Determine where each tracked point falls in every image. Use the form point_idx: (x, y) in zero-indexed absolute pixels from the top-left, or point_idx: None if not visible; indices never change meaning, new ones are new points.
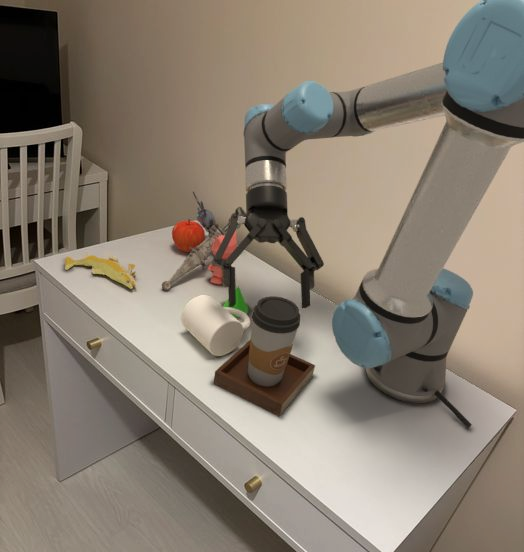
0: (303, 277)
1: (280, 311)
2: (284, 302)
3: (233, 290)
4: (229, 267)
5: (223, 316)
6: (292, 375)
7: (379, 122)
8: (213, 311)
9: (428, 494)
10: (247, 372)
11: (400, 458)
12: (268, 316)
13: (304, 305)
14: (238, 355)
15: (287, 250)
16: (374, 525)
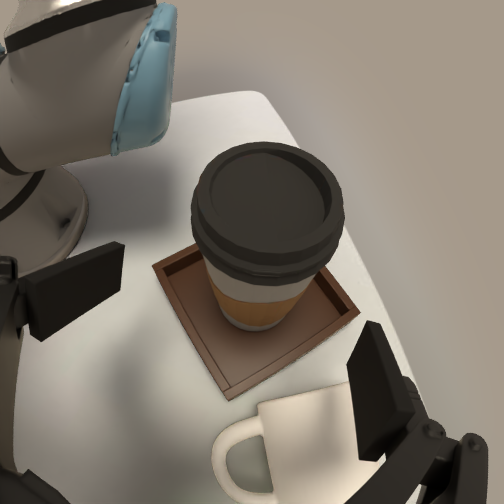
0: (56, 298)
1: (268, 181)
2: (224, 216)
3: (383, 344)
4: (410, 426)
5: (330, 413)
6: (198, 282)
7: None
8: (346, 443)
9: (180, 103)
10: (282, 320)
11: (167, 131)
12: (322, 166)
13: (121, 264)
14: (295, 348)
15: (11, 428)
16: (253, 100)
